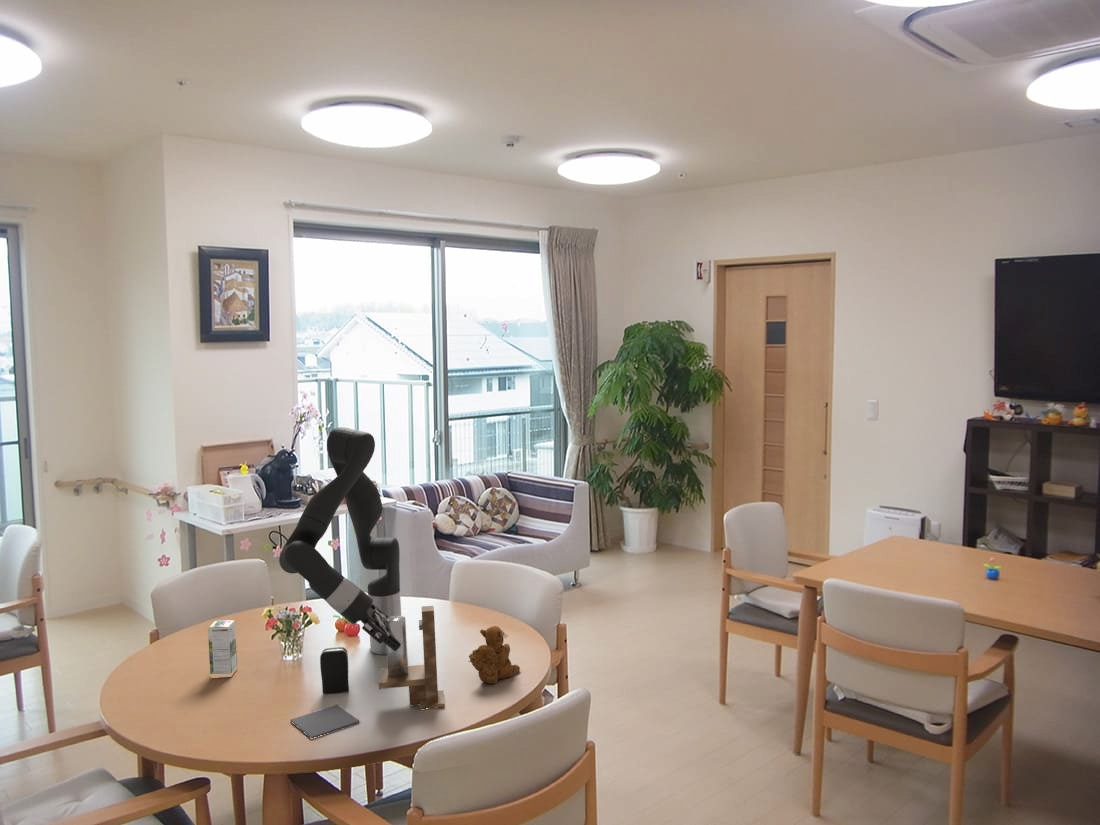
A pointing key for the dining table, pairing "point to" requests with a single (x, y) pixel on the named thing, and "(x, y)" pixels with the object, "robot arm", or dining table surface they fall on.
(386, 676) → the walnut standard
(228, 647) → the syrup box
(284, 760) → the dining table surface
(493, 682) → the stuffed squirrel
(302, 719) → the felt pad
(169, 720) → the dining table surface
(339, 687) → the battery charger
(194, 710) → the dining table surface
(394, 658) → the steel cylinder
